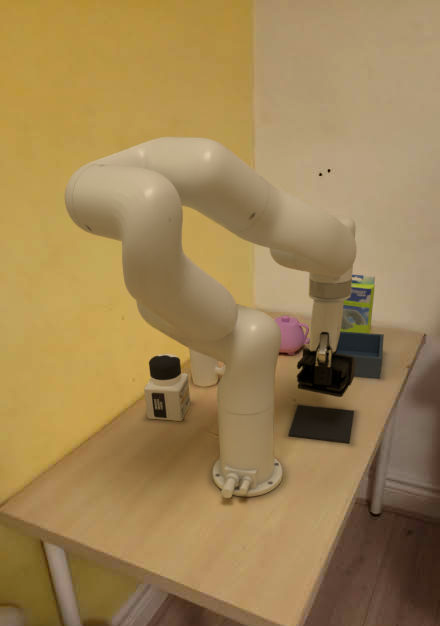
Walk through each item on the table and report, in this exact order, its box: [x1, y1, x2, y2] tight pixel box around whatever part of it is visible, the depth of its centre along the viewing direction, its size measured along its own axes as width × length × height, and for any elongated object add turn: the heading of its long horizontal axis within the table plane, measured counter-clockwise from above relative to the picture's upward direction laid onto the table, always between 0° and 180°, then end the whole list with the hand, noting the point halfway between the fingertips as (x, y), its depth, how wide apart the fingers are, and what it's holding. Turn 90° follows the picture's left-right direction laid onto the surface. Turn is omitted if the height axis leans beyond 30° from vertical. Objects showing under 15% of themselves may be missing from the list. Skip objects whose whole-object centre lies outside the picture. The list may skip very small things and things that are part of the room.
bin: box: [316, 331, 385, 380], centre depth 134 cm, size 15×16×5 cm
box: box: [341, 273, 376, 333], centre depth 145 cm, size 10×4×17 cm, turn 64°
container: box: [143, 353, 191, 422], centre depth 115 cm, size 8×8×13 cm
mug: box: [188, 348, 226, 388], centre depth 127 cm, size 10×7×12 cm, turn 61°
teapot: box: [273, 314, 310, 356], centre depth 142 cm, size 10×15×9 cm
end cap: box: [296, 347, 356, 398], centre depth 105 cm, size 10×7×7 cm
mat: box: [287, 404, 355, 445], centre depth 111 cm, size 12×12×1 cm
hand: (325, 373), depth 106 cm, fingers closed on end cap, 8 cm apart
